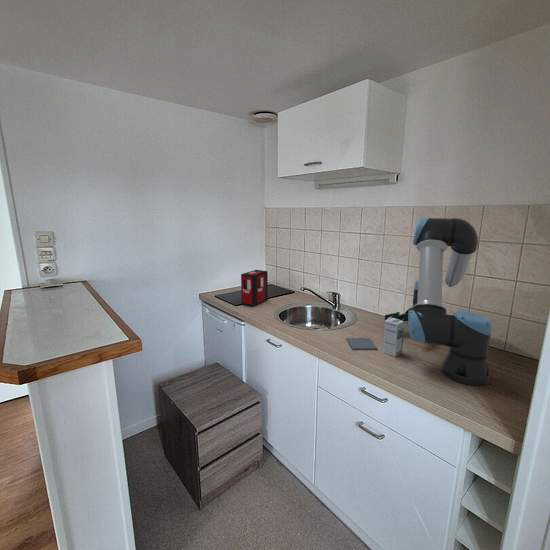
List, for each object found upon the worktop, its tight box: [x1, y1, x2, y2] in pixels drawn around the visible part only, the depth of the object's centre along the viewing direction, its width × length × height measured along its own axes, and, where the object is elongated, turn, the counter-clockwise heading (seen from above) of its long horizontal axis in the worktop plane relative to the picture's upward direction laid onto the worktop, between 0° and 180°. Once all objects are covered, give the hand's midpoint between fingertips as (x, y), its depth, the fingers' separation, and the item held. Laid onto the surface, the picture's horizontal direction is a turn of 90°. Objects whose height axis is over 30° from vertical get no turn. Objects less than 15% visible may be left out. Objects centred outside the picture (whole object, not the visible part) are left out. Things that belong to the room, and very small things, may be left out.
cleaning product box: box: [240, 269, 269, 308], centre depth 197 cm, size 16×9×20 cm, turn 148°
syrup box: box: [382, 318, 405, 357], centre depth 130 cm, size 6×6×14 cm
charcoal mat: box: [345, 337, 378, 351], centre depth 139 cm, size 11×11×1 cm
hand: (401, 327), depth 137 cm, fingers open, 13 cm apart
